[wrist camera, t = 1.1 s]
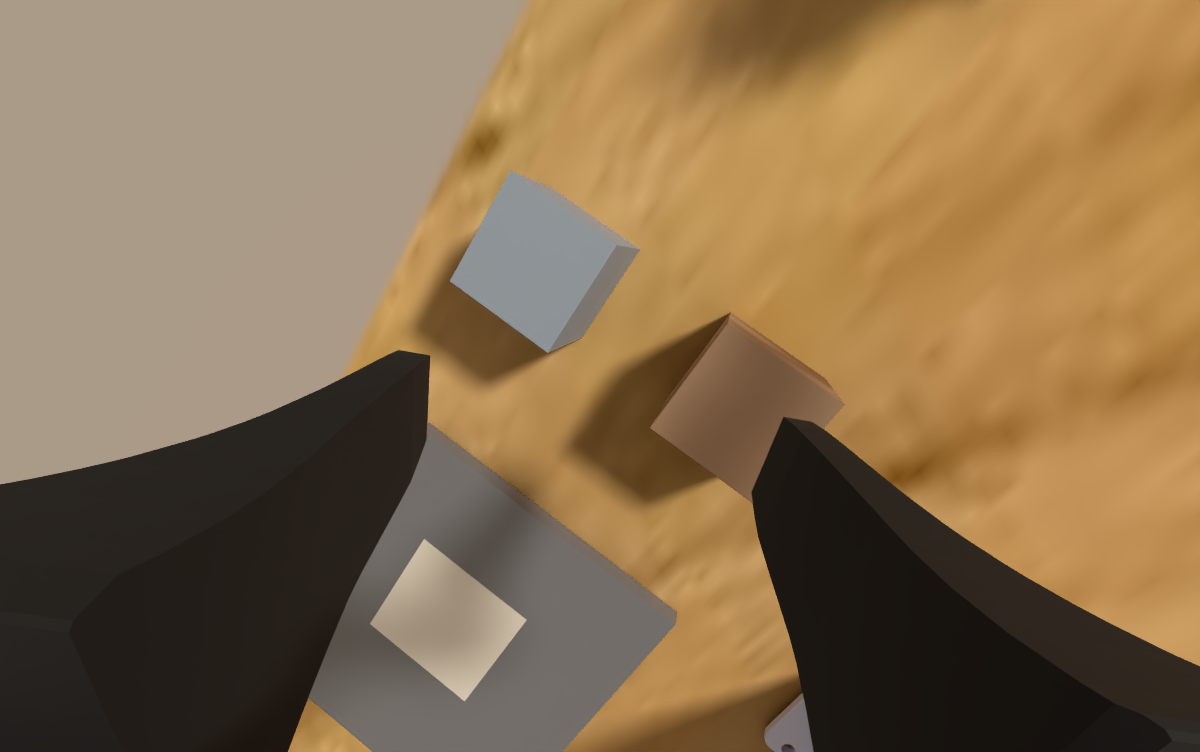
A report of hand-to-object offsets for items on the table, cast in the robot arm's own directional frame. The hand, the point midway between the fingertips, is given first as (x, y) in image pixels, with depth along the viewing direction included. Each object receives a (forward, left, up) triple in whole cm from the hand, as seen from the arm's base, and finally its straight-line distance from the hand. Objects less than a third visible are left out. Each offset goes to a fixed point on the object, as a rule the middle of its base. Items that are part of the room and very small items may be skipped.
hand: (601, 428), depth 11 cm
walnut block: (-3, -1, -10) cm, 10 cm away
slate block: (+5, -1, -10) cm, 11 cm away
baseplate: (0, +16, -10) cm, 19 cm away
